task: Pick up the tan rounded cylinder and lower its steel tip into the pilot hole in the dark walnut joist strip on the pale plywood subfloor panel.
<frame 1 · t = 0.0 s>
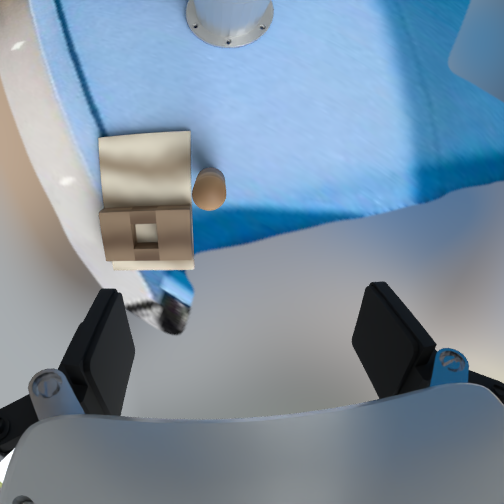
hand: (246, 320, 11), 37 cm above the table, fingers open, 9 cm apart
tan rounded cylinder: (211, 176, 45), on the table
subfloor panel: (147, 203, 45), on the table
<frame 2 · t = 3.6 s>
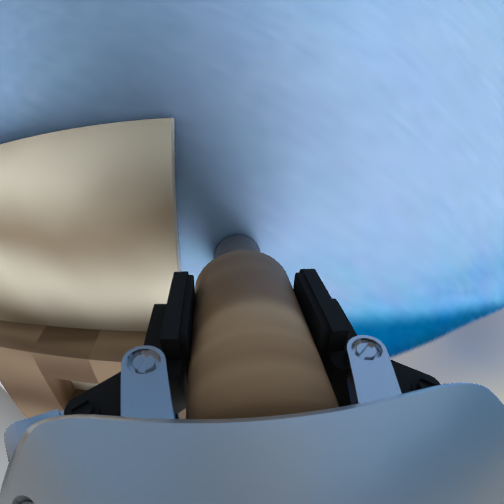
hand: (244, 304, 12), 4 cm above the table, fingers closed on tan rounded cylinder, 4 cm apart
tan rounded cylinder: (237, 256, 16), on the table, touching gripper
subfloor panel: (78, 316, 17), on the table
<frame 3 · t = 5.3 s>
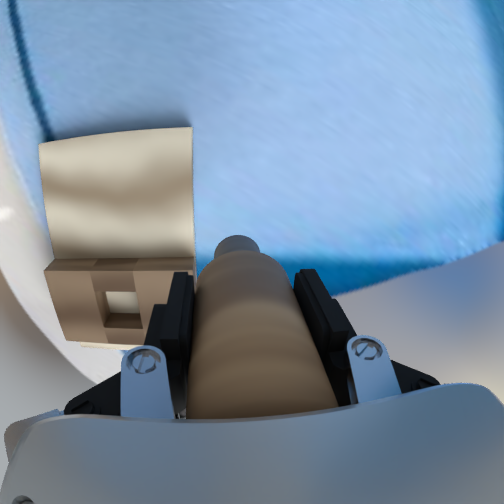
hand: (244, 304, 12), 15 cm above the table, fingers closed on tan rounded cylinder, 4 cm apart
tan rounded cylinder: (237, 256, 16), point 11 cm above the table, touching gripper
subfloor panel: (121, 252, 27), on the table
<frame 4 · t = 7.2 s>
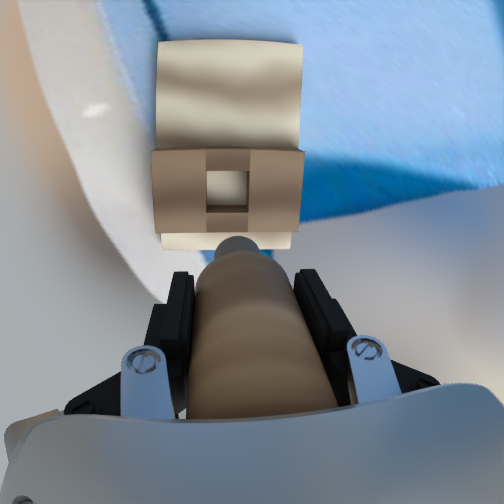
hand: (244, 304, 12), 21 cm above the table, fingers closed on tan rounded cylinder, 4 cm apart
tan rounded cylinder: (237, 257, 16), point 17 cm above the table, touching gripper
subfloor panel: (227, 145, 29), on the table
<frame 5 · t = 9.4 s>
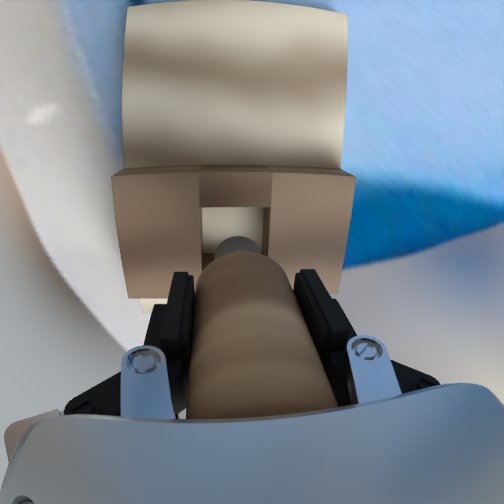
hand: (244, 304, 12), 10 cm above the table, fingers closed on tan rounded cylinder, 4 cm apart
tan rounded cylinder: (237, 257, 16), point 6 cm above the table, touching gripper
subfloor panel: (232, 161, 19), on the table
when the fingers open (6 cm above the table, at t = 10.9 s): tan rounded cylinder stays where it is, resting on subfloor panel.
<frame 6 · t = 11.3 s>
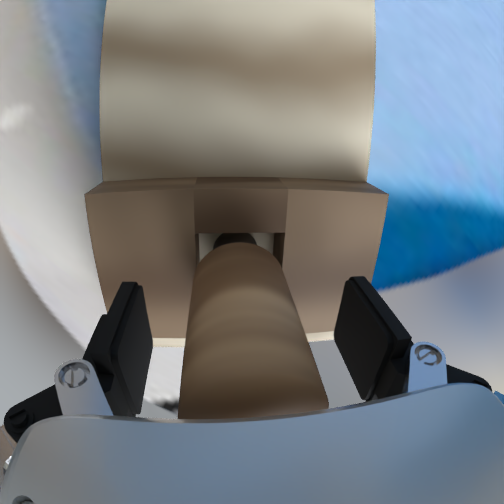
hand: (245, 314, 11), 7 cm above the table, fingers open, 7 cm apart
tan rounded cylinder: (235, 250, 17), point 1 cm above the table, touching subfloor panel
subfloor panel: (236, 172, 16), on the table
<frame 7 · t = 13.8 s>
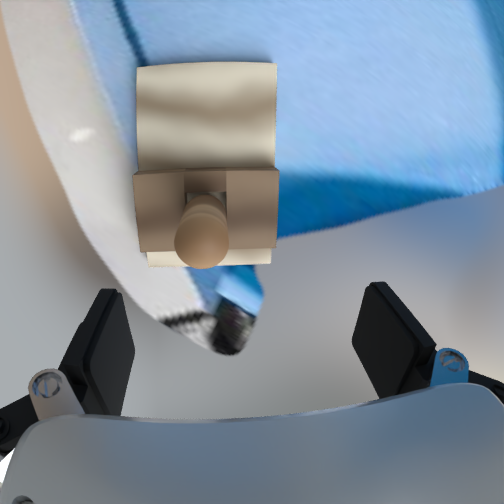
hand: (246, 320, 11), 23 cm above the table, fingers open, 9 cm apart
tan rounded cylinder: (206, 205, 32), point 1 cm above the table, touching subfloor panel
subfloor panel: (206, 165, 31), on the table
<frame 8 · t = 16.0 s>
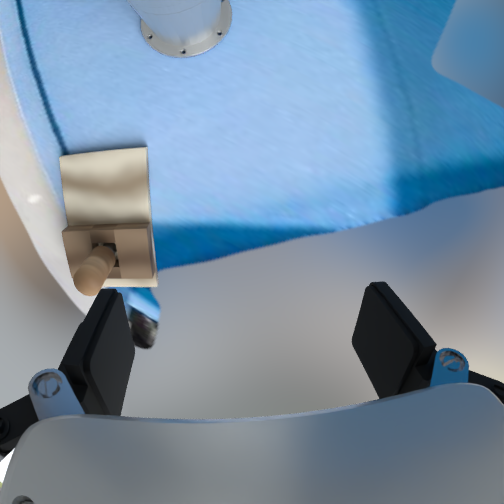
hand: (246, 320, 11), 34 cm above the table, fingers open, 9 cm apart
tan rounded cylinder: (109, 248, 44), point 1 cm above the table, touching subfloor panel
subfloor panel: (109, 221, 43), on the table
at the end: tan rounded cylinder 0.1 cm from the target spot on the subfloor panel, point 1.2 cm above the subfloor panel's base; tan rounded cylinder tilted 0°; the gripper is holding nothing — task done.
